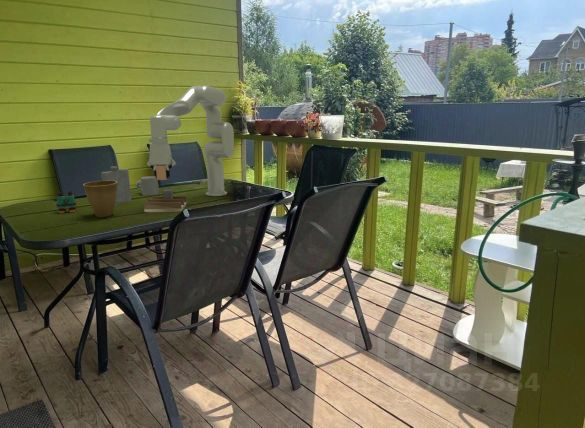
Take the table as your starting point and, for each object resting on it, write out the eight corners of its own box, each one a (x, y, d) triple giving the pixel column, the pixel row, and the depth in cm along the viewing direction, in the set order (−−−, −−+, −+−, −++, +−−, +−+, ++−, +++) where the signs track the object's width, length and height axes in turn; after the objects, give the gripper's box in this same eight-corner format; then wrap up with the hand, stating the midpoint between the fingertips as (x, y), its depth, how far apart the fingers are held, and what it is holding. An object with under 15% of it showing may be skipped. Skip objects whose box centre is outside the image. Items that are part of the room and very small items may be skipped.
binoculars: (74, 189, 225) (74, 191, 216) (76, 210, 227) (77, 212, 218) (54, 191, 221) (54, 192, 212) (57, 212, 223) (57, 214, 214)
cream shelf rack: (153, 204, 235) (152, 196, 234) (187, 203, 236) (186, 195, 235) (144, 212, 217) (143, 203, 216) (181, 211, 218) (180, 202, 217)
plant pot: (96, 212, 219) (92, 180, 215) (125, 212, 218) (122, 180, 215) (81, 219, 204) (76, 185, 201) (112, 219, 204) (108, 185, 200)
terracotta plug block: (158, 178, 221) (157, 164, 219) (167, 178, 221) (166, 164, 219) (157, 179, 217) (155, 165, 215) (166, 179, 217) (165, 165, 215)
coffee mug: (162, 192, 267) (161, 176, 265) (152, 195, 258) (150, 179, 256) (144, 191, 272) (142, 175, 269) (133, 194, 263) (131, 178, 260)
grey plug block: (164, 202, 232) (163, 189, 230) (173, 202, 232) (172, 189, 230) (163, 204, 228) (162, 191, 226) (171, 204, 228) (170, 191, 227)
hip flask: (106, 205, 233) (102, 168, 228) (102, 204, 235) (98, 167, 230) (132, 200, 245) (129, 165, 241) (128, 199, 248) (124, 164, 243)
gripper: (140, 142, 210) (143, 179, 215) (175, 141, 211) (178, 179, 216) (144, 141, 218) (147, 177, 222) (178, 140, 219) (180, 176, 223)
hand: (162, 177), depth 219 cm, fingers closed on terracotta plug block, 4 cm apart
